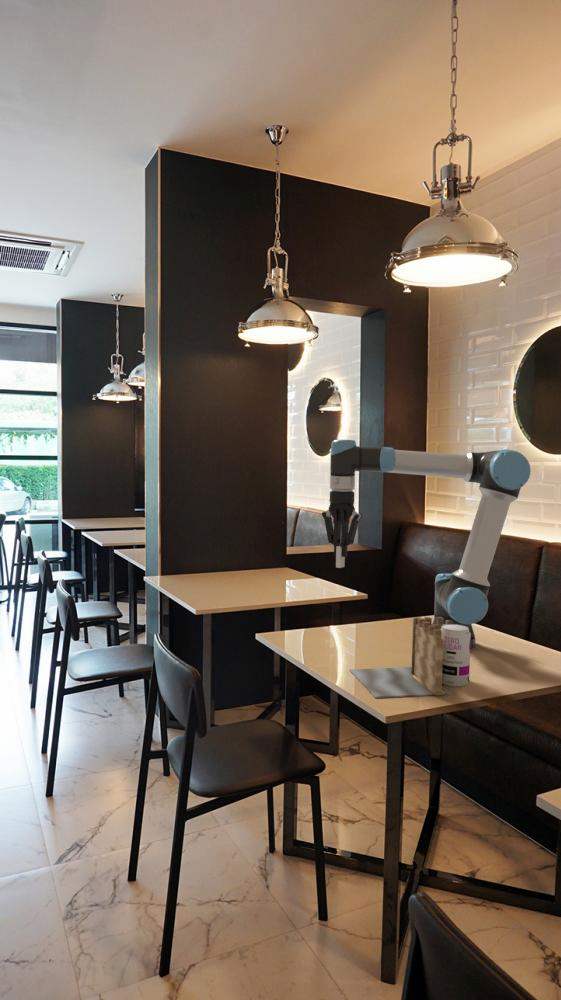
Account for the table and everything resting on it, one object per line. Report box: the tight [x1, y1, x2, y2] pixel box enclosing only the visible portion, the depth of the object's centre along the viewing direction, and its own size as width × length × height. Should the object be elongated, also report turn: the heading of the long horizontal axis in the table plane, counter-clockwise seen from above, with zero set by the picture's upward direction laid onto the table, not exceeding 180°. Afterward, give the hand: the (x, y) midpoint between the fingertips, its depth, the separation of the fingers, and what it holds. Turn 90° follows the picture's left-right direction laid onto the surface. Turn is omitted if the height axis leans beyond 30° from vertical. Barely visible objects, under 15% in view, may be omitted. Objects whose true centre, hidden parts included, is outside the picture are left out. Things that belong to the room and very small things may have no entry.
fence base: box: [349, 616, 453, 699], centre depth 179 cm, size 28×22×16 cm
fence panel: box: [414, 617, 443, 696], centre depth 175 cm, size 16×2×16 cm, turn 8°
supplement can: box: [440, 624, 471, 688], centre depth 179 cm, size 8×8×15 cm
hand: (340, 567), depth 205 cm, fingers closed
